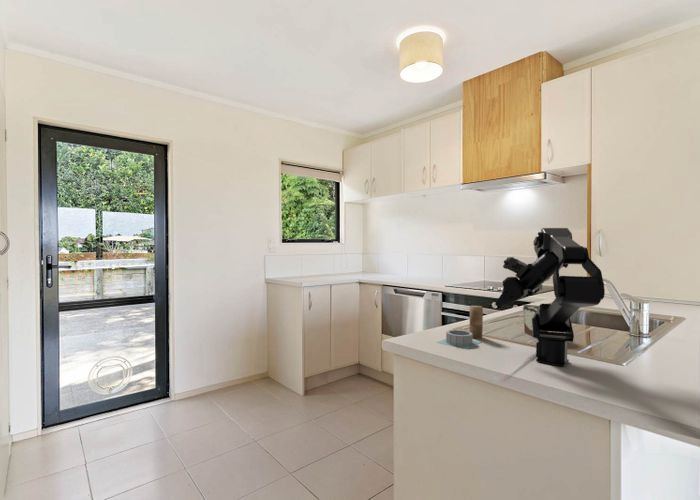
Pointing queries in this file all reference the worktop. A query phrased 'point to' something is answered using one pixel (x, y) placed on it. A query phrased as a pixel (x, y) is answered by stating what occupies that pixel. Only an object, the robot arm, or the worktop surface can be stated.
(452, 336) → the ring stand
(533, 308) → the food container
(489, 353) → the worktop surface
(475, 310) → the walnut peg
